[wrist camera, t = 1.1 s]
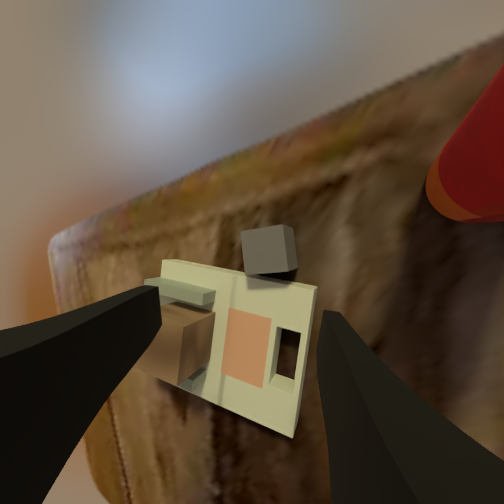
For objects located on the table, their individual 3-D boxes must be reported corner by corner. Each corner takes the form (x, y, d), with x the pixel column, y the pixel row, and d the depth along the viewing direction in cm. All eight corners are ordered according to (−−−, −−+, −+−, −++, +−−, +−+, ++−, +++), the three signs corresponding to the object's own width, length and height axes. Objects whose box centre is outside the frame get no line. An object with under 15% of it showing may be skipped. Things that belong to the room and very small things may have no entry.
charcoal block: (298, 267, 21) (288, 271, 17) (260, 271, 22) (245, 275, 19) (293, 228, 21) (282, 224, 18) (256, 234, 22) (240, 231, 19)
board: (297, 421, 21) (286, 458, 17) (164, 365, 26) (134, 384, 23) (317, 286, 20) (309, 294, 16) (176, 259, 26) (146, 260, 22)
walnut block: (209, 360, 22) (176, 386, 18) (171, 345, 23) (132, 366, 19) (215, 312, 21) (183, 327, 17) (176, 301, 23) (138, 312, 19)
